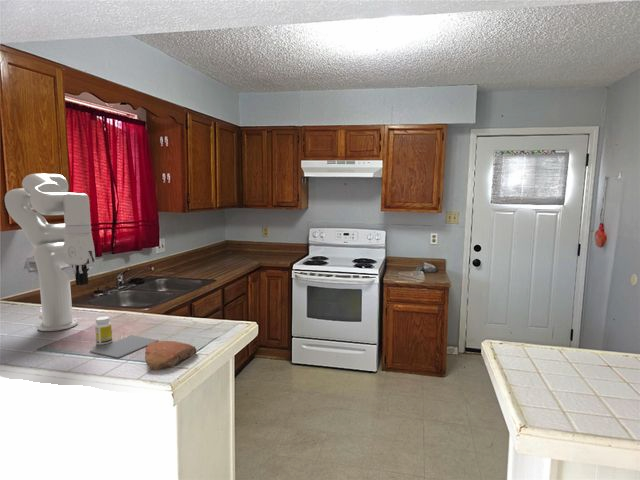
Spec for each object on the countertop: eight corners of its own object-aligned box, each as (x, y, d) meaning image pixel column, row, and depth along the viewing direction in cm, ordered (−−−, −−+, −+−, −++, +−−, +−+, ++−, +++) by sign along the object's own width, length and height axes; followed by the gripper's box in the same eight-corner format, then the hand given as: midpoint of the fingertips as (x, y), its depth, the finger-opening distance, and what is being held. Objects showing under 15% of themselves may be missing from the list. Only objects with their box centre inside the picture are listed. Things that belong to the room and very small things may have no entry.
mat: (89, 352, 131) (89, 350, 131) (131, 336, 145) (131, 335, 145) (118, 358, 126) (118, 357, 126) (158, 341, 140) (158, 340, 140)
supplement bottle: (115, 340, 142) (113, 316, 141) (106, 345, 137) (105, 320, 136) (102, 339, 142) (100, 315, 141) (93, 344, 138) (91, 320, 137)
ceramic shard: (122, 350, 119) (156, 339, 134) (124, 372, 119) (158, 360, 133) (167, 347, 115) (197, 337, 130) (168, 371, 115) (198, 358, 129)
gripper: (52, 230, 139) (56, 284, 141) (83, 232, 133) (87, 288, 135) (73, 228, 146) (77, 280, 148) (104, 230, 139) (107, 284, 141)
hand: (82, 284), depth 141 cm, fingers closed
